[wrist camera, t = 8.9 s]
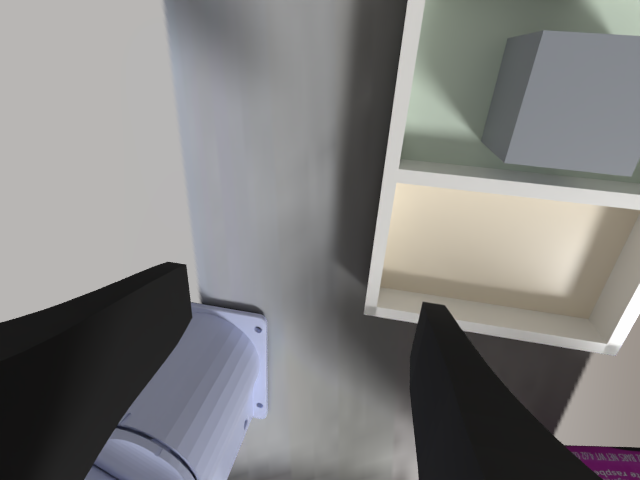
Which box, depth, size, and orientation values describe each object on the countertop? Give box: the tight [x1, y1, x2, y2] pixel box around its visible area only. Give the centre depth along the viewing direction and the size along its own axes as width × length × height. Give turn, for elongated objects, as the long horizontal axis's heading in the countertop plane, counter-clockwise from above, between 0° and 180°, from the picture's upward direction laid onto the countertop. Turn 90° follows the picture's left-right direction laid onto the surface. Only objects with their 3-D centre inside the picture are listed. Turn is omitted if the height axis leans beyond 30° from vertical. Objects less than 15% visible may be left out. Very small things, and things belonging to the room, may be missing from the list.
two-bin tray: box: [364, 0, 640, 356], centre depth 16 cm, size 15×12×2 cm
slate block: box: [481, 30, 640, 177], centre depth 13 cm, size 4×4×4 cm
